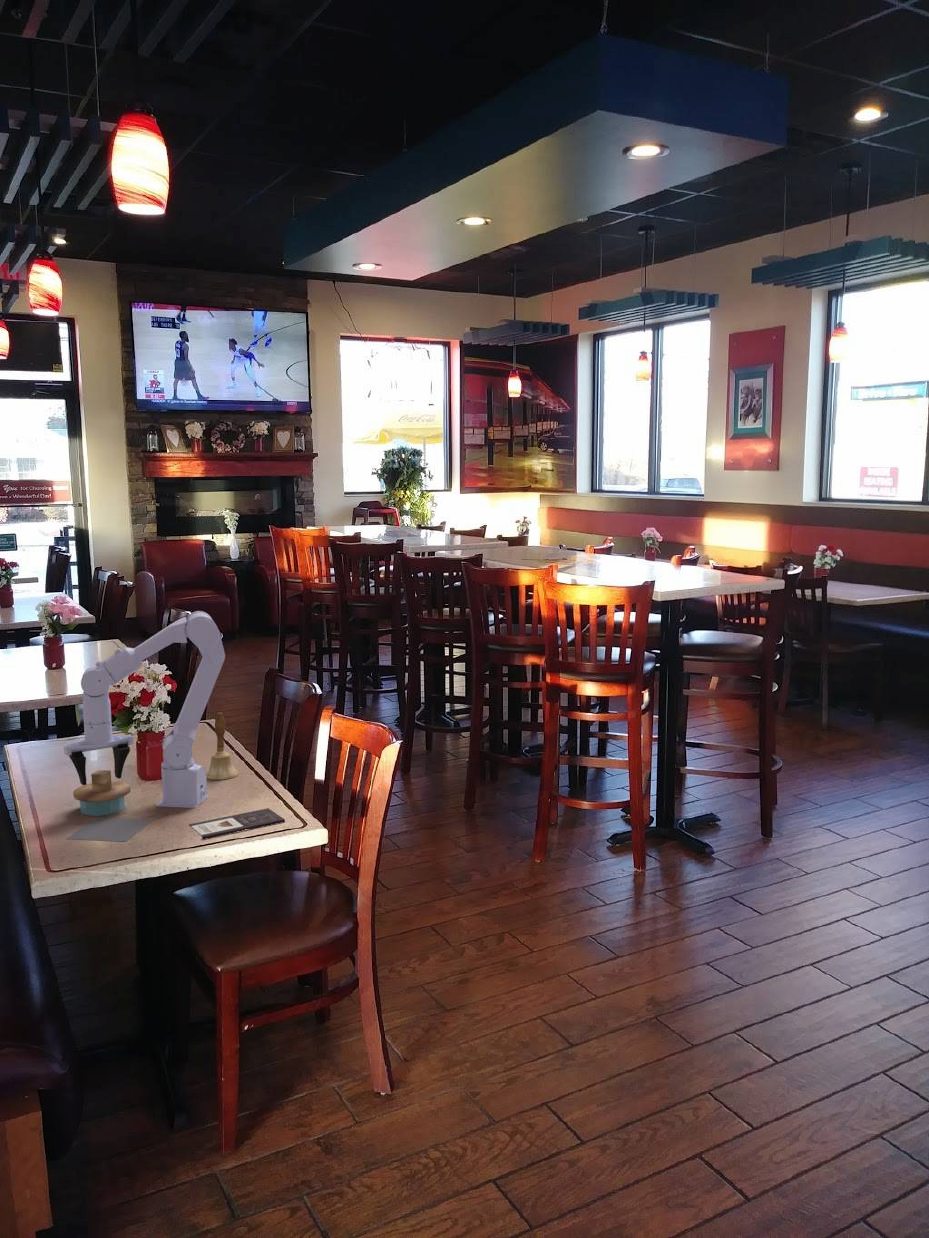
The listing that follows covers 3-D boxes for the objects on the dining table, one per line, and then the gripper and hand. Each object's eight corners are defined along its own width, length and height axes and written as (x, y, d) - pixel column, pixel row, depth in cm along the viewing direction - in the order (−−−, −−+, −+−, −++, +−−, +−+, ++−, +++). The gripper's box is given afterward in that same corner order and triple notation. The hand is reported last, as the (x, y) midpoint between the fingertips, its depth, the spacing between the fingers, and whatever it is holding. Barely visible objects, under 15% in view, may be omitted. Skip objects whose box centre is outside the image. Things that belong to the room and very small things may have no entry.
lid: (140, 785, 223) (139, 765, 222) (114, 803, 211) (113, 781, 211) (90, 783, 225) (89, 763, 224) (62, 800, 213) (61, 779, 212)
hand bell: (216, 768, 250) (214, 708, 247) (244, 772, 247) (242, 710, 244) (197, 778, 242) (194, 715, 240) (225, 781, 239) (223, 718, 237)
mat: (153, 821, 212) (153, 819, 212) (126, 843, 199) (125, 841, 199) (96, 818, 213) (96, 816, 213) (65, 840, 201) (65, 838, 200)
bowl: (131, 803, 223) (130, 787, 222) (112, 817, 214) (111, 800, 213) (93, 802, 224) (92, 785, 223) (72, 816, 215) (71, 798, 214)
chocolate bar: (284, 819, 211) (203, 836, 201) (284, 823, 211) (204, 841, 201) (268, 808, 219) (189, 824, 209) (268, 812, 219) (189, 828, 209)
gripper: (124, 713, 223) (127, 770, 225) (58, 722, 215) (61, 782, 217) (135, 719, 218) (138, 777, 220) (67, 729, 209) (71, 790, 211)
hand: (101, 780), depth 218 cm, fingers open, 7 cm apart
